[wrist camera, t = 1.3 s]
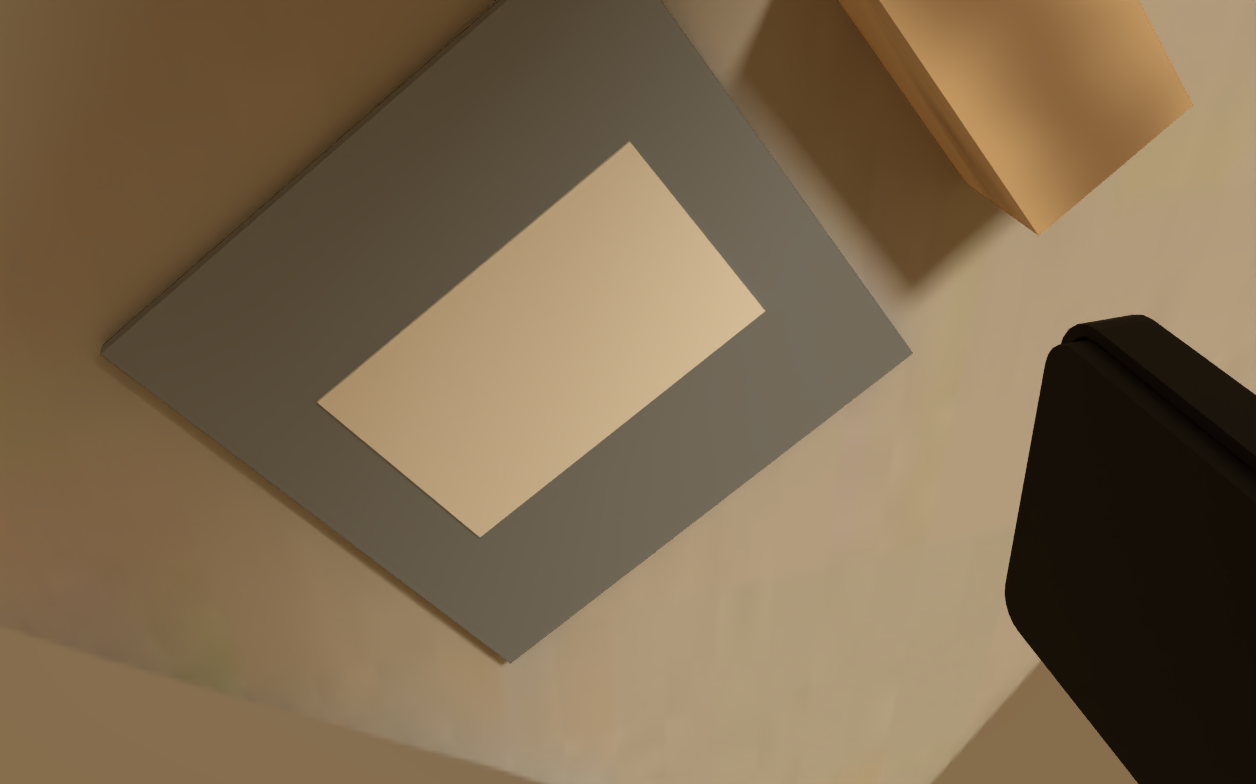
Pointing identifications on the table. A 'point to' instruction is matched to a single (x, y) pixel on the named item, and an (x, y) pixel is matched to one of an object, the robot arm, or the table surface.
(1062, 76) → the tan rectangular block
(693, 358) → the mat
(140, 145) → the table surface
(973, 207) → the table surface
